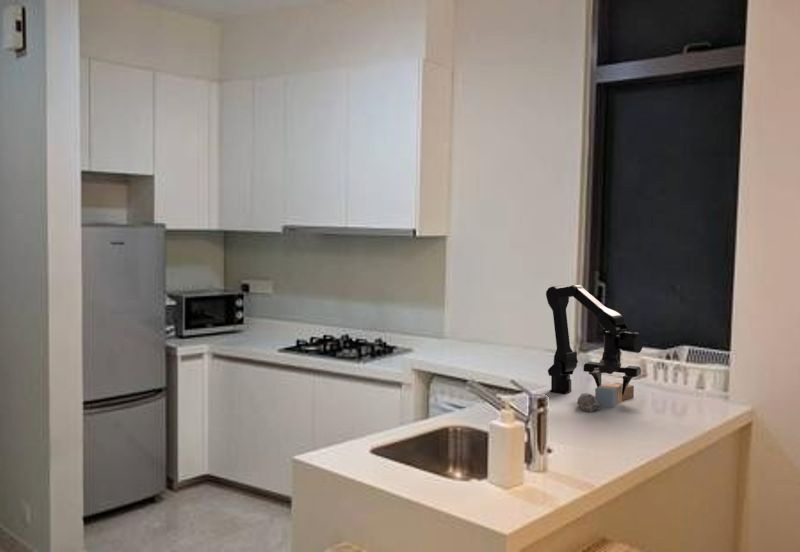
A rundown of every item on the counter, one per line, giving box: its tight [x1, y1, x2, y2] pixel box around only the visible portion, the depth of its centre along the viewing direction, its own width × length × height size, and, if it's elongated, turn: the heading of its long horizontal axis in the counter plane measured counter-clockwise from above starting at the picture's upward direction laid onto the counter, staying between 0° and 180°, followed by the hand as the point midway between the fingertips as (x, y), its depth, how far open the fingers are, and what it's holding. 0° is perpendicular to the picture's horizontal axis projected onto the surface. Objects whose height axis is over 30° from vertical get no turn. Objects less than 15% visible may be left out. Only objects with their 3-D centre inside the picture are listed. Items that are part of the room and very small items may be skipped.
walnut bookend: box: [612, 382, 635, 401], centre depth 260 cm, size 7×9×4 cm
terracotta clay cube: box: [601, 382, 623, 405], centre depth 253 cm, size 6×5×6 cm
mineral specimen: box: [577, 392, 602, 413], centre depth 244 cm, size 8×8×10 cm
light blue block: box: [594, 386, 618, 409], centre depth 248 cm, size 6×5×6 cm
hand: (611, 393), depth 253 cm, fingers open, 8 cm apart
